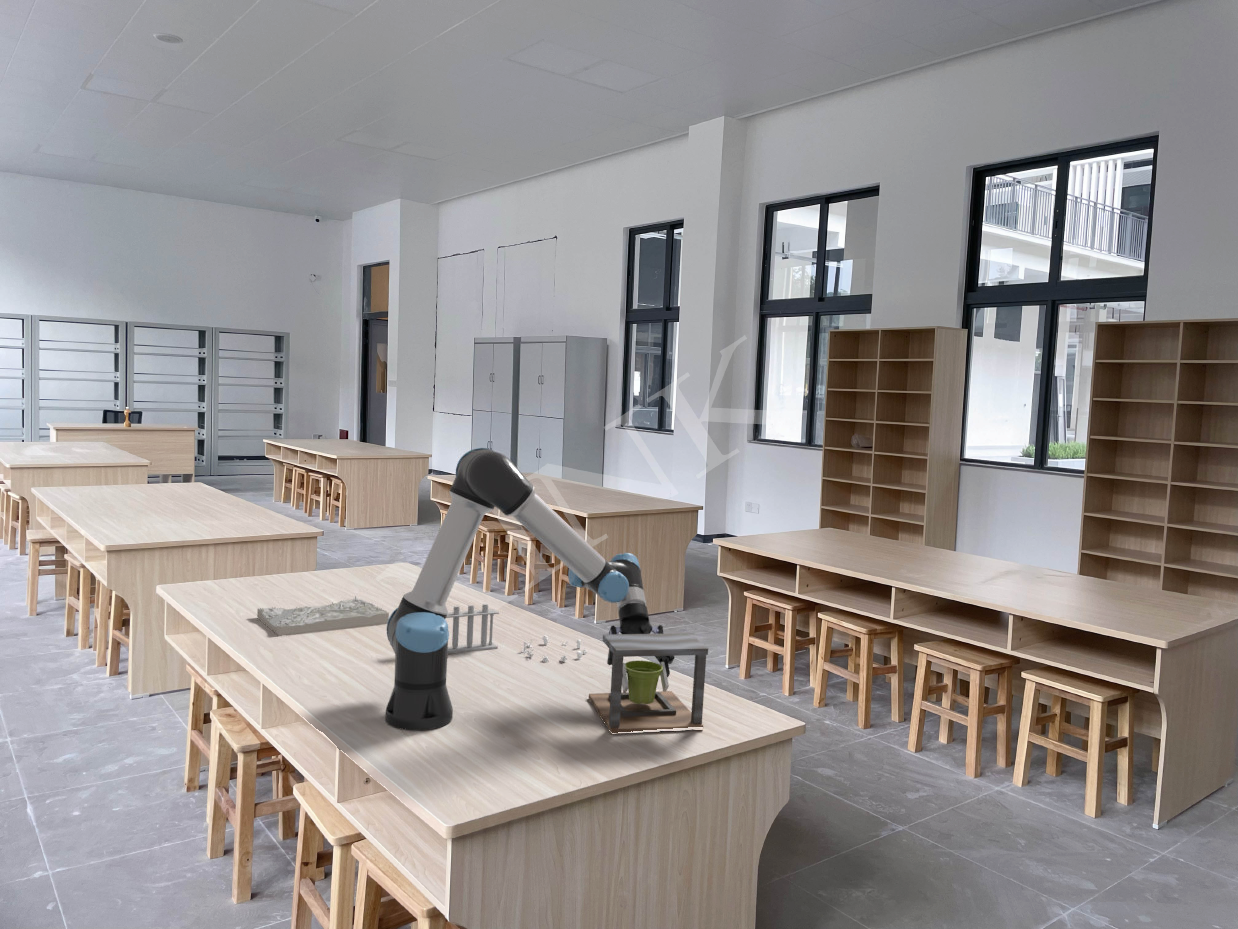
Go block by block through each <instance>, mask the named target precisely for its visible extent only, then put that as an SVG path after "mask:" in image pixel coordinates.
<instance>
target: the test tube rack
mask: <svg viewBox="0 0 1238 929" xmlns="http://www.w3.org/2000/svg"><path fill="white" fill-rule="evenodd" d="M460 609H461V608H460V606H459V605H454V606H453V611H452V612H448V614H447V616H446V619H451V618H452V635H451V636H452V637H451V638H452V639H451V640H452V642H451V645H452V646H451V645H450V646H448V651H447V655H448V654H458V653H468V652H469V653H470V652H478V651H488V650H497V649H499V648H498V645H496V644H495V643H494V642H493V629H494V628H493V627H494V626H493V624H494V615H499V614H500V612H499V611H498V610H495V609H494V608H491V609H490V608H489V604H488V603H483V604H482V606H481V609H480V610H479V609H478V610H475V605H474V604H468V606H467V610H465V611H463V610H462V611H460ZM475 616H481V629H480V643H473V640H474V639H473V638H474V637H473V636H474V618H475ZM462 617H463V618H464V617H467V624H466V626H467V627H466V644H464V645H463V644H462V645H459V635H460V630H459V629H460V618H462ZM489 617H490V619H489ZM488 620H490V621H489V640H488ZM487 640H488V641H487Z"/></svg>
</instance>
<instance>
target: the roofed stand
mask: <svg viewBox="0 0 1238 929" xmlns="http://www.w3.org/2000/svg"><path fill="white" fill-rule="evenodd" d="M602 641H603V642H602V643H604V644H605V646H606V647H607V649H608V650H609V649H610V650H611V651H612V653H613V658H612V665H611V678H610V679H611V680H610V692H605V693H604V692H601V693H599V692H598V693H588V701H590V703H591V705H592V706H593V708H594V710H595V711H596V710H597V711H596V712H597V714H598V713H599V714H598V716H599V717H600V716H601V717H600V718H602V719H603V720H602V719H601V720H602V722H603V721H604V722H605V723H604V722H603V723H604V725H605V724H606V725H607V726H606V725H605V726H606V728H607V727H608V728H609V730H610V731H611V732H612V733H618V732H631V731H632V732H633V731H643V730H657V729H673V728H688V727H703V728H704V724H703V712H704V697H705V696H704V694H705V682H706V681H705V679H706V668H707V667H706V666H707V665H706V664H707V656H708V655H709V648H708V646H706V645H705V644H704V643H702V642H701V641H700V640H698V638H696V637H695V636H693V634H691V633H688V632H687V633H686V632H685V633H683V632H682V633H681V632H680V633H664V634H654V633H650V634H621V633H619V634H611V635H609V634H602ZM655 656H674V657H675V656H694V668H693V682H692V683H693V684H692V699H691V710H690V709H689V708H688V707H687V706H686V705H685V704H684V703H683V701H682V700H680V699H679V697H678V696H677V695H676V694H675V693H674V692H673V691H672V690H667V691H663V690H662V691H660V690H659V691H656V693H655V698H654V702H653V703H650V704H644V703H640V704H636V703H633V702H631V701H630V700H629V691H627V692H626V693H623V692H622V691H623V689H622V673H623V663H624V657H628V658H629V657H631V658H632V657H655ZM608 728H607V729H608ZM609 730H608V731H609ZM610 731H609V732H610Z"/></svg>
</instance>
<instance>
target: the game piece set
mask: <svg viewBox="0 0 1238 929" xmlns="http://www.w3.org/2000/svg"><path fill="white" fill-rule="evenodd" d="M533 640H534V639H533V638H531V640H530V643H528V642H527V641H526V640H525V641H524V642H523V645H524V646H523V649H520V651H521V653H523V654H526V655H527V656H528V657H529V658H531V659H532V658H533V656H534V653H532V652H534V651H533V650H535V649H534V648H533V645H532V642H533ZM541 640H543V641H542V642H543V645H545V646H547V645H548V644H549V636H547V634H544V635H543V636H542V638H541ZM568 643H569V641H566V642H565V643H561V644H560V646H566V644H568ZM575 643H576V647H577V651H576V652H575V654H576V657H575V659H576V660H579V661H580V660H583V657H582V656H583V655H587V654H588V651H587V649H586V648H585V647H584V649H583V650H582V651H581V650H578V649H581V647H582V641H581V639H579V638H578V639H577V640H576V641H575ZM528 648H529V649H530V648H531V650H530V651H529V649H528ZM542 655H543V657H542V662H543V663H548V662H550V660H549V657H548V655H547V654H546V655H545V654H542ZM567 660H568V658H567V654H563V656H561V657H560V661H562V662H563V663H565V661H567Z"/></svg>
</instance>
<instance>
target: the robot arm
mask: <svg viewBox="0 0 1238 929" xmlns="http://www.w3.org/2000/svg"><path fill="white" fill-rule="evenodd" d="M448 494H449V495H450V497H451V503H450V504H449V507H448V509H447V512H446V514H445V515H444V518H443V520H442V523H441V525H440V528H439V530H438V531H437V534H436V536H435V538H434V542H433V543H432V545H431V548H430V550H429V552H428V554H427V557H426V559H425V561H424V564H423V566H422V568H421V571H420V573H419V575H418V578H417V579H416V581H415V585H414V587H413V588H412V590H410V591H409V592H407V593H404V594H403V595H402V598H401V600H400V602H399V604H398V607H397V608H395V609H394V610H393V611H392V613H391V614H390V615H389V620H388V623H387V624H386V637H387V640H388V642H389V645H390V646H391V647H392V650H393V652H394V655H395V656H394V658H395V659H394V660H395V661H394V684H393V689H392V691H391V695H390V697H389V699H388V702H387V705H386V708H385V715H384V716H385V717H384V720H385V723H386V724H388V725H389V726H391V727H393V728H396V729H400V730H407V731H424V730H425V731H426V730H434V729H439V728H442V727H443V726H446V725H448V724H449V723H450V722H451V721H452V720H453V712H454V710H453V705H452V702H451V698H450V695H449V691H448V686H447V674H448V673H447V670H448V668H447V667H448V654H447V651H448V647H449V645H448V644H449V637H450V631H449V624H448V622H447V620H446V619H447V618H446V616H447V614H448V613H449V611H448V609H447V608H448V607H447V605H446V603H447V600H448V599H449V597H450V594H451V591H452V589H453V587H454V585H455V582H456V581H457V578H458V576H459V573H460V571H461V568H462V567H463V565H464V562H465V560H466V557H467V556H468V552H469V550H470V548H471V546H472V544H473V541H474V539H475V537H476V534H477V532H478V530H479V527H480V525H481V523H482V520H483V519H484V517H485V515H486V514H488V513H490V512H492V511H494V509H495V507H496V509H498V510H499V511H500V512H501V513H502V514H504V515H505V516H506V517H509V516H510V517H511V516H512V517H513V518H514V519H515V520H516V521H517V522H519V524H521V525H522V527H524V528H525V529H526V530H527V531H528V532H529V533H530V534H532V535H533V536H534V537H535V538H536V540H538V542H540V543H541V544H542V545H543V546H545V548H547V550H549V551H550V552H551V553H552V554H553V555H554V556H555V557H556V558H557V559H558V560H560V561H561V562H562V563H563V564H564V565H565V566H566V567H567V568H568V574H567V575H568V582H569V585H570V586H572V587H575V588H579V589H582V588H585V589H588V590H589V591H591V592H592V593H594V594H596V595H597V596H598V597H600V598H601V599H602V600H603V601H604V602H608V603H612V604H616V606H617V612H618V620H619V626H615V625H611V626H610V628H609V631H608V635H611V634H665V633H664V627H663V625H661V624H660V625H658V626H653V625H652V624H651V623H650V617H649V616H650V615H649V611H648V607H647V601H646V595H645V591H644V583H643V578H642V570H641V567H640V563H639V560H638V558H637V556H636V555H634V554H632V553H629V552H624V553H618V554H616V555H614V556H613V557H612V558H611V559H610V560H606V559H605V558H604V557H603V556H602V555H601V554H600V553H599V552H598V551H597V550H595V549H594V548H593V547H592V545H590V544H589V543H588V542H587V541H586V540H585V539H584V538H583V537H582V536H581V535H580V534H579V533H578V532H577V531H576V530H574V528H572V526H571V525H569V524H568V523H567V522H566V521H565V520H564V519H563V518H562V517H561V516H560V515H559V514H558V513H557V512H556V511H555V510H554V509H552V507H550V505H548V504H547V502H545V501H544V500H543V499H542V498H541V497H540V496H539V495H538V494H537V493H536V492H535V485H533V483H532V482H530V481H529V479H527V478H526V477H525V475H524V474H523V473H522V472H521V471H520V469H518V467H517V466H516V465H515V464H514V463H513V461H512V460H511V459H510V458H509V457H507V456H506V455H505V454H503V453H501V452H497V451H495V450H493V449H489V448H488V447H487V448H486V447H479V448H474V449H471V450H468V451H467V452H465V453H464V454H463V455H462V456H461V457H460V458H459V460H458V462H457V463H456V466H455V478H454V480H453V482H452V485H451V487H450V489H449V493H448ZM654 657H655V659H656V660H657V661H658V664H660V665H661V666H662V667H663V670H662V671H661V673H660V676H659V678H660V682H661V687H662V691H668V689H669V686H670V684H669V680H668V679H669V676H670V675H671V671H670V667H669V666H670V665H671V664H673V662H674V660H675V656H654ZM612 658H613V653H612V651H611V650H610V649H609V648H608V653H607V661H606V664H607V665H608V666H612ZM625 663H626V662H623V673H622V693H627V692H628V688H629V687H628V677H627V673H626V668H625Z"/></svg>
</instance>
